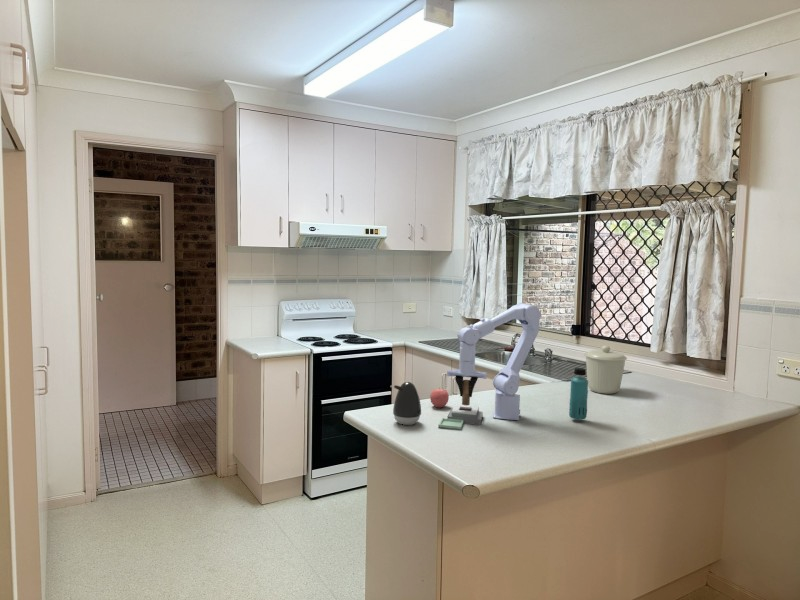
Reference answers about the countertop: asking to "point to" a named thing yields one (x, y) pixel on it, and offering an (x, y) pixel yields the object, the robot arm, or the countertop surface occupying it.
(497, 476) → the countertop surface
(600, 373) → the canister
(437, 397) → the apple
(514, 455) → the countertop surface
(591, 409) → the countertop surface
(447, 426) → the rest tray
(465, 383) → the brown wooden cylinder
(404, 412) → the pump dispenser
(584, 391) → the beverage bottle
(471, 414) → the box
